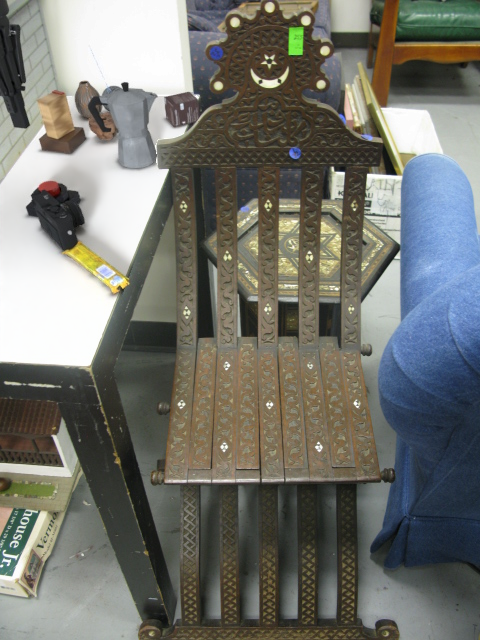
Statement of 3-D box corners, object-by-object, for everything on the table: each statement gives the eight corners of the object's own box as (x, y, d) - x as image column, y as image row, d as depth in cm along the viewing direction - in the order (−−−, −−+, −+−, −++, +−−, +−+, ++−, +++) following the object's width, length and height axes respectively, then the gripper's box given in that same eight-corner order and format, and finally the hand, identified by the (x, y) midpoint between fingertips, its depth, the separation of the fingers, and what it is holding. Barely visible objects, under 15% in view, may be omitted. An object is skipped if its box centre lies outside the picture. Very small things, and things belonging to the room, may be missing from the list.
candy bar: (112, 290, 95) (115, 297, 97) (131, 276, 97) (133, 284, 99) (58, 247, 104) (61, 254, 105) (76, 235, 105) (79, 243, 107)
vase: (82, 123, 147) (74, 89, 141) (75, 113, 151) (67, 80, 145) (107, 116, 149) (100, 83, 143) (99, 107, 154) (92, 75, 147)
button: (36, 196, 115) (34, 189, 113) (47, 187, 117) (44, 179, 116) (54, 199, 114) (51, 191, 113) (63, 189, 116) (61, 181, 115)
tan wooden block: (57, 139, 134) (46, 101, 128) (47, 136, 136) (36, 98, 129) (75, 129, 138) (65, 92, 131) (64, 126, 139) (54, 89, 133)
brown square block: (42, 150, 137) (38, 138, 135) (58, 135, 143) (55, 124, 140) (70, 153, 135) (67, 142, 133) (86, 138, 141) (83, 127, 139)
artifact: (104, 128, 144) (100, 109, 141) (128, 133, 141) (124, 114, 138) (85, 141, 139) (81, 121, 136) (109, 146, 137) (105, 127, 133)
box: (200, 122, 146) (174, 128, 144) (191, 112, 150) (166, 119, 148) (198, 99, 142) (172, 105, 139) (189, 90, 145) (163, 96, 143)
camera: (101, 243, 108) (92, 208, 102) (67, 258, 105) (56, 223, 99) (68, 212, 116) (58, 178, 111) (36, 226, 113) (24, 191, 107)
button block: (28, 215, 116) (22, 199, 113) (48, 195, 122) (43, 179, 119) (62, 220, 114) (57, 203, 112) (80, 200, 120) (76, 183, 117)
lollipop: (130, 60, 133) (110, 79, 131) (134, 107, 152) (117, 123, 151) (100, 35, 133) (79, 53, 131) (107, 84, 152) (90, 101, 151)
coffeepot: (164, 146, 136) (154, 71, 123) (167, 165, 129) (156, 87, 117) (101, 153, 135) (84, 78, 122) (100, 173, 128) (82, 95, 115)
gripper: (-26, 2, 86) (20, 144, 103) (20, -20, 95) (56, 114, 112) (-66, -1, 88) (-15, 139, 105) (-17, -22, 97) (23, 110, 113)
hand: (22, 126), depth 108 cm, fingers closed
